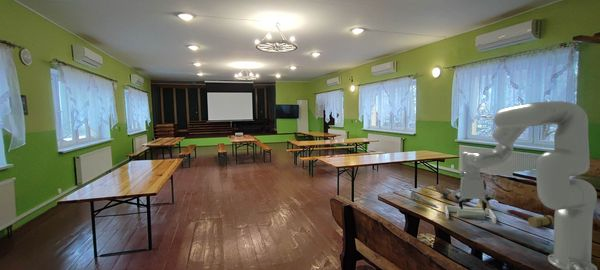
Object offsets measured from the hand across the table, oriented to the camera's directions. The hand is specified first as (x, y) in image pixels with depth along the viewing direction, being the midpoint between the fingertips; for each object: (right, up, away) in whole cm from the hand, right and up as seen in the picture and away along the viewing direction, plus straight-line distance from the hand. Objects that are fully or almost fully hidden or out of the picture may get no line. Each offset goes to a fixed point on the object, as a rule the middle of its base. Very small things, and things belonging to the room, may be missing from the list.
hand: (472, 209), depth 137 cm
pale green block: (+4, -7, +9) cm, 12 cm away
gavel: (+28, -6, +2) cm, 29 cm away
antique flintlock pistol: (+10, -4, +32) cm, 34 cm away
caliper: (-10, -6, +32) cm, 34 cm away
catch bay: (+3, -6, +8) cm, 10 cm away
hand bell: (+19, -5, +20) cm, 28 cm away
